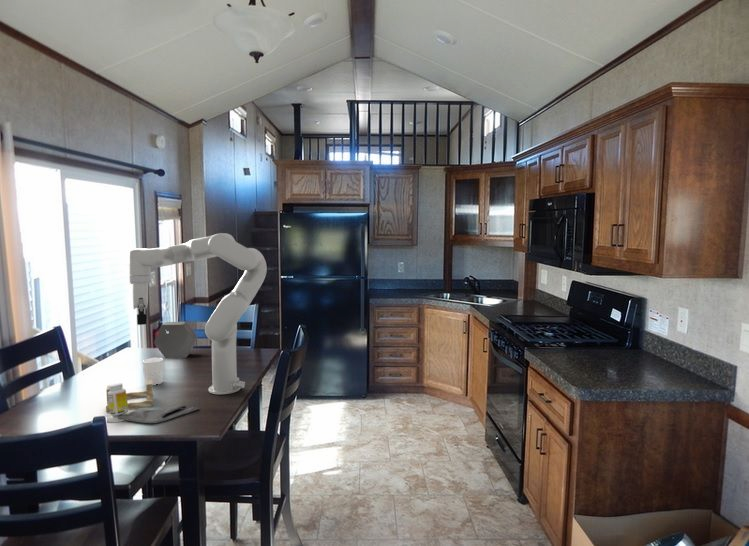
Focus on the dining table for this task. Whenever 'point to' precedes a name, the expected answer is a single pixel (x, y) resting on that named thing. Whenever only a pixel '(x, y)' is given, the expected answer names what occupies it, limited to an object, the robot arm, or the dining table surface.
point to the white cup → (153, 370)
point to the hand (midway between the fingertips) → (142, 322)
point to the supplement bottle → (117, 400)
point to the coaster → (116, 417)
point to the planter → (175, 339)
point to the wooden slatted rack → (137, 394)
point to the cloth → (156, 414)
